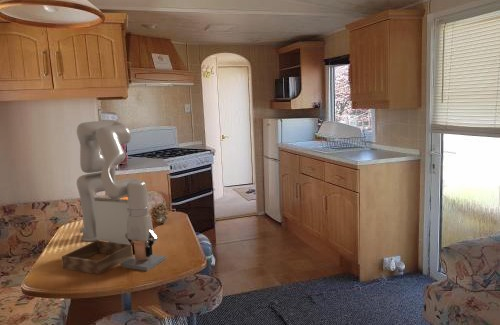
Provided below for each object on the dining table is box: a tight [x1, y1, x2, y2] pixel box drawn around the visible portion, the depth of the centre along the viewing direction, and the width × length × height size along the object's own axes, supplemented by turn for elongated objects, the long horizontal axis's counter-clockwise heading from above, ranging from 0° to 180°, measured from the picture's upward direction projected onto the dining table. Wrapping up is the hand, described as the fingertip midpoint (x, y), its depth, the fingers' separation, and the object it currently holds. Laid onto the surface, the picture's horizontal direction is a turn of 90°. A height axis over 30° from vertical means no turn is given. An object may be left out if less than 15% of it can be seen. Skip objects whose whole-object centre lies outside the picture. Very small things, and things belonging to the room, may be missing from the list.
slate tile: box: [119, 253, 166, 272], centre depth 166 cm, size 13×12×2 cm
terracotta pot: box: [132, 240, 150, 260], centre depth 165 cm, size 7×7×12 cm
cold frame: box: [61, 240, 133, 275], centre depth 169 cm, size 19×19×5 cm
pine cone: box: [149, 203, 169, 225], centre depth 216 cm, size 22×10×10 cm, turn 14°
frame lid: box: [95, 196, 130, 245], centre depth 176 cm, size 19×19×1 cm
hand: (142, 254), depth 165 cm, fingers closed on terracotta pot, 6 cm apart
